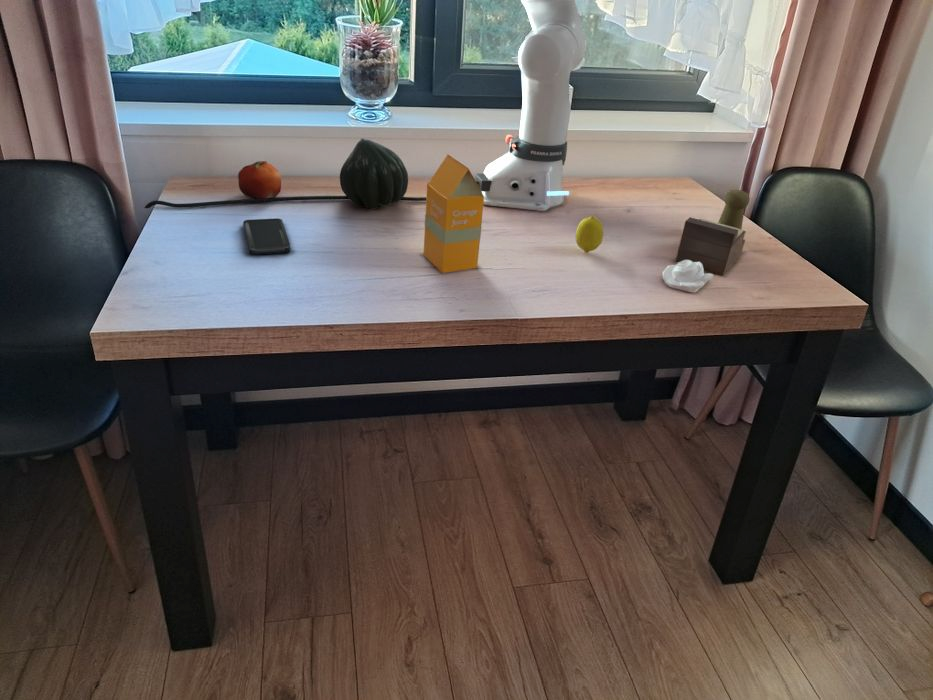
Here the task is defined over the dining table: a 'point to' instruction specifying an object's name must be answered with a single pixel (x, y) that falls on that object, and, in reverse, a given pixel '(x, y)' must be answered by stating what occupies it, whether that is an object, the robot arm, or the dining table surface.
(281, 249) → the phone
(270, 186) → the tomato
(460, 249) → the orange juice
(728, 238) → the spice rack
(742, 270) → the dining table surface
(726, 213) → the cork
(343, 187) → the squash
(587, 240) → the lemon
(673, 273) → the rose
